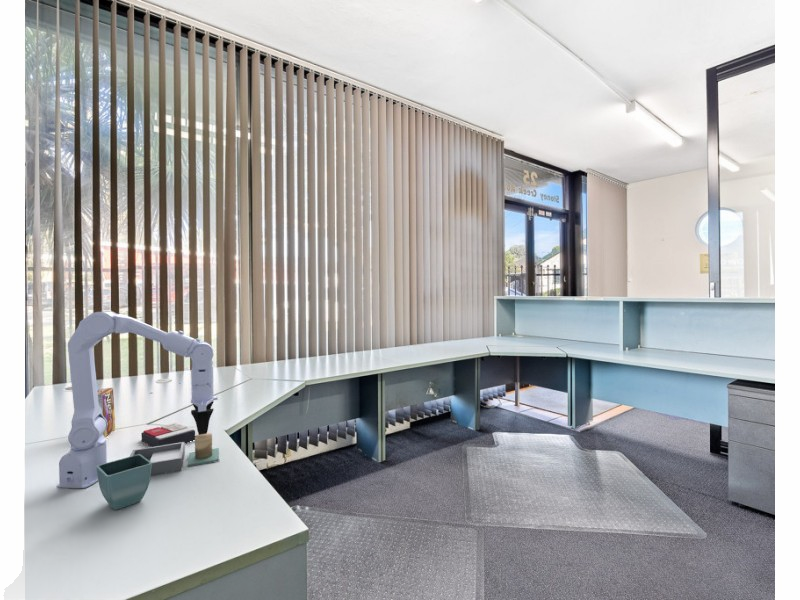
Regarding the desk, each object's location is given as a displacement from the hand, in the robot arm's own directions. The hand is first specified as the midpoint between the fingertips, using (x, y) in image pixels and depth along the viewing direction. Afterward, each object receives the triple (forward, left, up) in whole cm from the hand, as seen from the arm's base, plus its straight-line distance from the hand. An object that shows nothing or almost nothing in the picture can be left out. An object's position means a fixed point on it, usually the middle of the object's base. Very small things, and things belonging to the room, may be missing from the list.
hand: (203, 429), depth 112 cm
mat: (0, 0, -8) cm, 8 cm away
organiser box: (-6, +10, -8) cm, 14 cm away
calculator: (+13, +20, -9) cm, 26 cm away
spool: (0, 0, -8) cm, 8 cm away
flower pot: (-24, +4, -9) cm, 26 cm away
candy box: (+18, +47, -9) cm, 51 cm away
